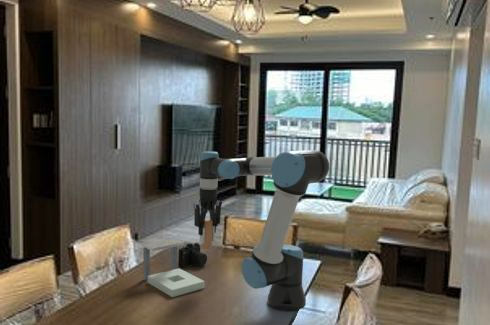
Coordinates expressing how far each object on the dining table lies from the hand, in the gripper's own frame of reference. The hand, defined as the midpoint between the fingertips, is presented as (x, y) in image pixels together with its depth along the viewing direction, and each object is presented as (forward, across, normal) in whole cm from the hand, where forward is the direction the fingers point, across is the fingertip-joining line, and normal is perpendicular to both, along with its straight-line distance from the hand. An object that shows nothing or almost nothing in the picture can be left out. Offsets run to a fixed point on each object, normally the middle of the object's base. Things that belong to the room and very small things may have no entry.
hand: (206, 241), depth 192 cm
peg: (+3, 0, 0) cm, 3 cm away
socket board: (+19, +11, -6) cm, 23 cm away
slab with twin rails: (+20, +12, -16) cm, 28 cm away
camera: (+20, -9, -24) cm, 32 cm away
